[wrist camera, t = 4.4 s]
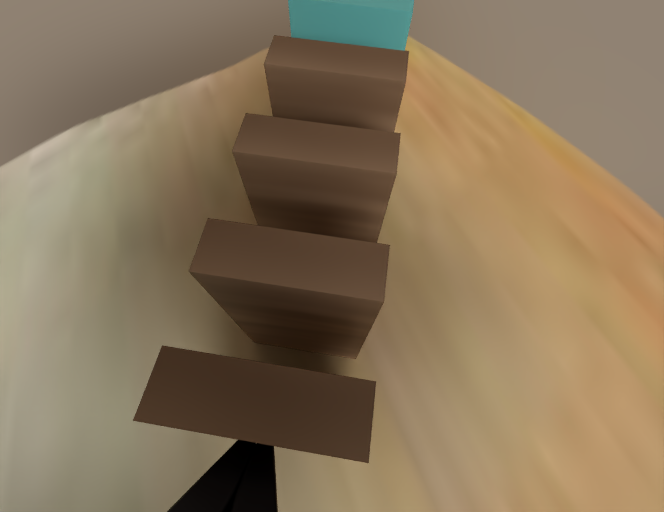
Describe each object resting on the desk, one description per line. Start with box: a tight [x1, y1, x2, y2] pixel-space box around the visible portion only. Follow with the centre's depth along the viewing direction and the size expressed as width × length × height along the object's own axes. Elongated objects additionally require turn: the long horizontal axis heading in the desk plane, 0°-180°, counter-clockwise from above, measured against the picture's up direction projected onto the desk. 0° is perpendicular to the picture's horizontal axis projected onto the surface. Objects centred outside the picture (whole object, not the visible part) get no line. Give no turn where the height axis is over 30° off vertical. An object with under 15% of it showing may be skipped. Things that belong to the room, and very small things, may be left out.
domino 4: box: [264, 35, 409, 132], centre depth 17 cm, size 2×5×9 cm, turn 81°
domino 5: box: [288, 0, 414, 51], centre depth 18 cm, size 2×5×9 cm, turn 81°
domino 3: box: [232, 113, 401, 243], centre depth 15 cm, size 2×5×9 cm, turn 80°
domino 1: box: [133, 346, 376, 463], centre depth 12 cm, size 2×5×9 cm, turn 80°
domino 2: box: [189, 218, 390, 359], centre depth 13 cm, size 2×5×9 cm, turn 81°
